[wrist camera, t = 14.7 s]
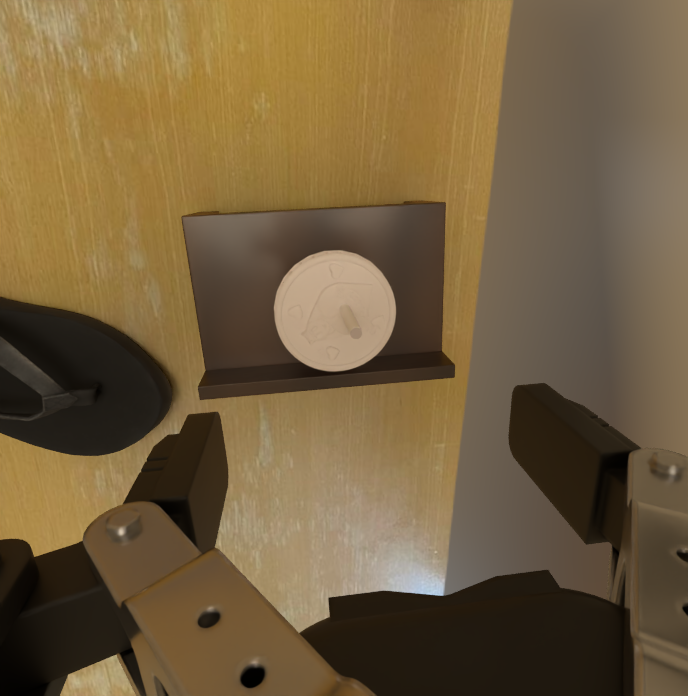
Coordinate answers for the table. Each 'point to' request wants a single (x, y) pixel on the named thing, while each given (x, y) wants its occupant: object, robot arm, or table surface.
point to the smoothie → (334, 310)
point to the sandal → (75, 382)
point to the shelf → (277, 260)
